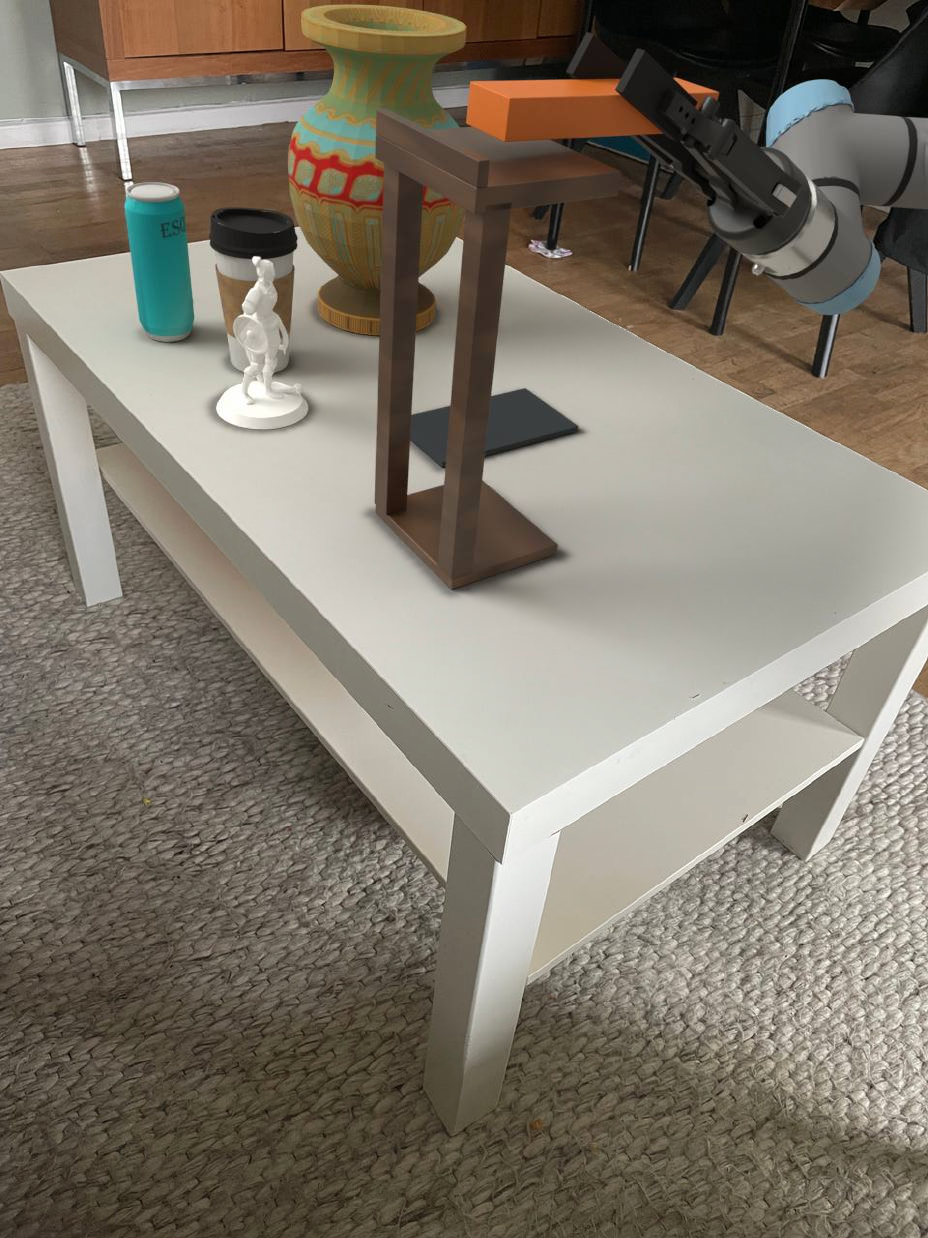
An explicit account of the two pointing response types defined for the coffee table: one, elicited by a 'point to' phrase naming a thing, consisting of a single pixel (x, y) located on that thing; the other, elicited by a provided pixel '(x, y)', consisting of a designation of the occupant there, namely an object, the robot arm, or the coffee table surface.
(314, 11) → the vase
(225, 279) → the coffee cup
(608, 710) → the coffee table surface
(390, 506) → the walnut rack
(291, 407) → the figurine
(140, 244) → the beverage can
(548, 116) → the orange block
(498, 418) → the rubber pad
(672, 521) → the coffee table surface
